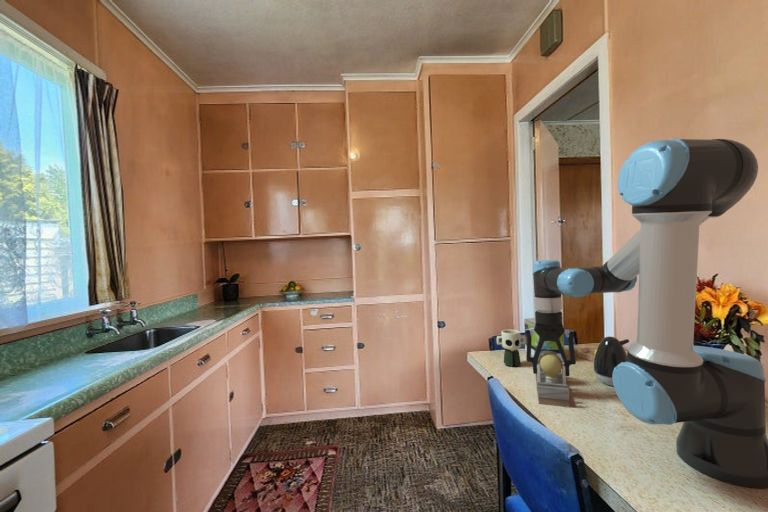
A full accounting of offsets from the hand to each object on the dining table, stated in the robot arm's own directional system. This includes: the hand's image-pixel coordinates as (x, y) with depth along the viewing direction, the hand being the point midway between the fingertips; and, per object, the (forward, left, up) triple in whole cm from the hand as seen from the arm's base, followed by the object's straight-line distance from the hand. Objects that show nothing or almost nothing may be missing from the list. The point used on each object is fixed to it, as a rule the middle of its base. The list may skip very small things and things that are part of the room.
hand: (551, 384), depth 107 cm
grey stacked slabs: (+4, 0, -3) cm, 5 cm away
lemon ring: (+43, -20, -3) cm, 48 cm away
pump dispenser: (+14, -19, -3) cm, 24 cm away
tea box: (+38, 0, -3) cm, 38 cm away
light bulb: (0, 0, -1) cm, 1 cm away
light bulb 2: (+40, -20, -3) cm, 45 cm away
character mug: (+25, +12, -3) cm, 28 cm away
